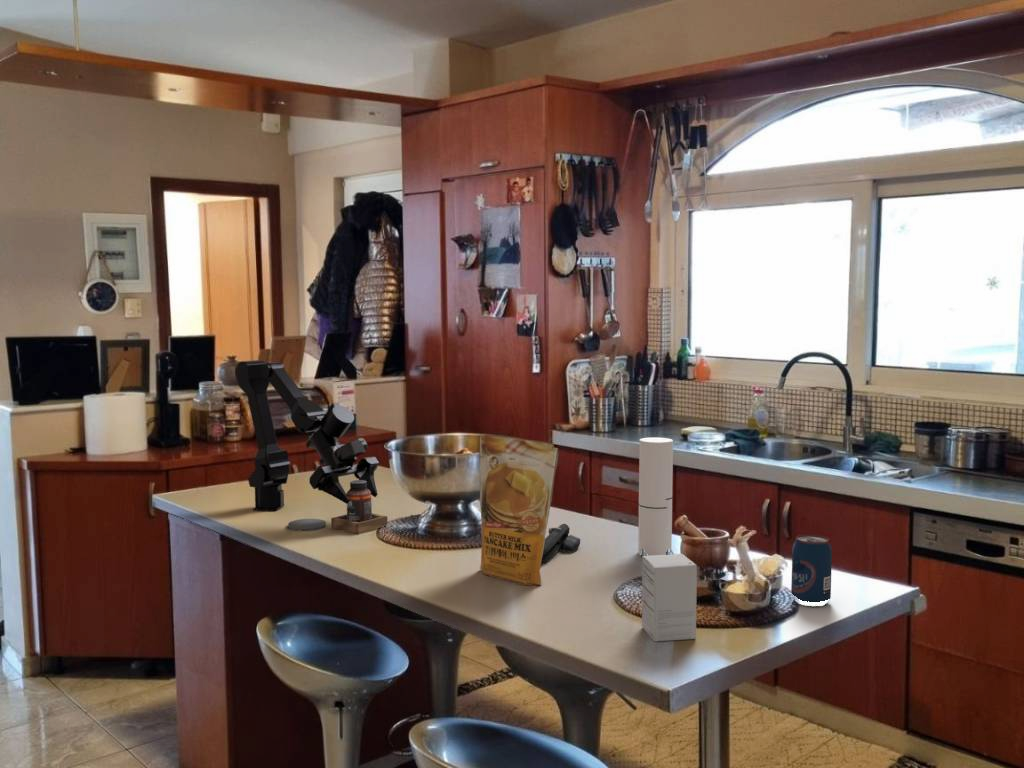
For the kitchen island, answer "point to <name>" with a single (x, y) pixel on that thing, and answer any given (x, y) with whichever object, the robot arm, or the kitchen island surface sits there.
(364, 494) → the supplement bottle
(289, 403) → the robot arm
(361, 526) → the pocket
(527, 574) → the pancake mix bag
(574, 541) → the can opener
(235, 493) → the kitchen island surface
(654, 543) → the cylindrical container
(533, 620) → the kitchen island surface
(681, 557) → the supplement box
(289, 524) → the coaster
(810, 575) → the soda can
